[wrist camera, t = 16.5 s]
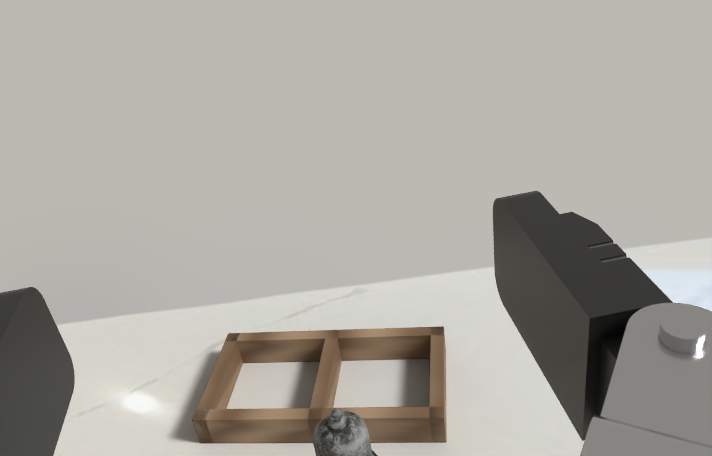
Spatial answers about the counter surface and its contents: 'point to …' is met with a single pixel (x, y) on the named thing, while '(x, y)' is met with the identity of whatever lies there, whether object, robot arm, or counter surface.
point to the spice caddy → (323, 385)
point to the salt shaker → (342, 435)
